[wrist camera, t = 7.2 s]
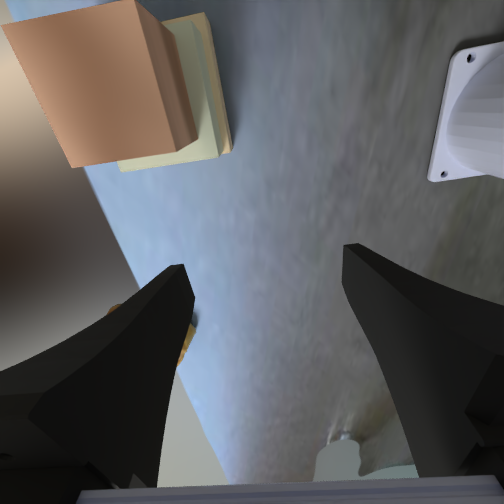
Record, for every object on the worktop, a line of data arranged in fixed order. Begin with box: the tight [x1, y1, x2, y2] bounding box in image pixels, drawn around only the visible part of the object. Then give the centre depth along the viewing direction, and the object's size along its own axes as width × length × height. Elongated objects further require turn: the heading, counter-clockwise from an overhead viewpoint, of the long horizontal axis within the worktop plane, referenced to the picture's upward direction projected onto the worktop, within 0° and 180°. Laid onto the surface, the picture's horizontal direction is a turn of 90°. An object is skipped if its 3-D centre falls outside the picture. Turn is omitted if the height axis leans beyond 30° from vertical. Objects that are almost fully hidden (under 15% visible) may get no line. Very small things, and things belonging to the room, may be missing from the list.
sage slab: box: [117, 20, 224, 172], centre depth 14 cm, size 6×6×2 cm
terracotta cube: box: [1, 0, 198, 168], centre depth 11 cm, size 4×4×4 cm
